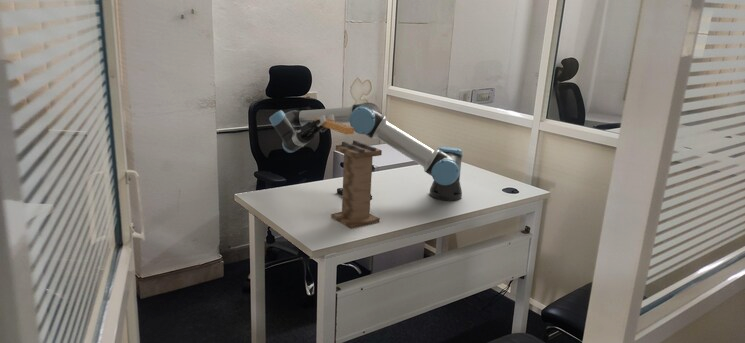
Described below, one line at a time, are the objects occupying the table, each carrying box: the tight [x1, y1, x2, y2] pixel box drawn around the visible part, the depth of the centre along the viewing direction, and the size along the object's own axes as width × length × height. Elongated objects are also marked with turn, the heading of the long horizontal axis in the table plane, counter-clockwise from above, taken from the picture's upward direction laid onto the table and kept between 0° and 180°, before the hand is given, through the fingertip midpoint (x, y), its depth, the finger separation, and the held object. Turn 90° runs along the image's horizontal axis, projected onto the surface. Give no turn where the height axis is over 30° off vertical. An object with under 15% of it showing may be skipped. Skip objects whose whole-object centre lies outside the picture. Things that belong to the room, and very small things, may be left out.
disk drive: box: [336, 187, 373, 201], centre depth 247 cm, size 10×3×15 cm
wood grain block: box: [314, 117, 355, 135], centre depth 221 cm, size 24×4×2 cm, turn 37°
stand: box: [331, 139, 383, 230], centre depth 214 cm, size 14×14×31 cm
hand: (329, 117), depth 223 cm, fingers closed on wood grain block, 3 cm apart
